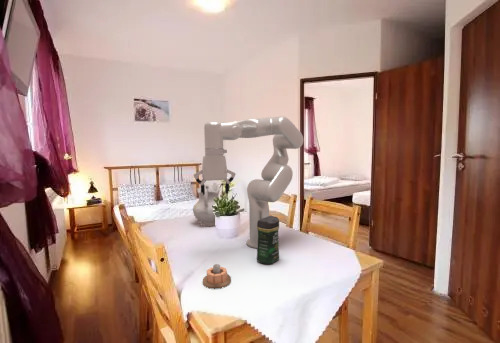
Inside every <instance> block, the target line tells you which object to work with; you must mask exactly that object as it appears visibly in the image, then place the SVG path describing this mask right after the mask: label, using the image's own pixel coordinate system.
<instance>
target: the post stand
mask: <svg viewBox="0 0 500 343" xmlns="http://www.w3.org/2000/svg"><path fill="white" fill-rule="evenodd" d="M220 267H221V264H219V263H218V264H217V263H216V264H213V265H212V268H213V274H220ZM231 283H232V276H230V275H229V274H228V273H227V280H226V281H225V282H223V283H220V284H215V283H214V284H212V283H209V282H207V274H206V275H205V276H204V277H203V279H202V284H203V286H204V287H205V286H206V287H205V288H207V287H208V289H210V288H214V289H213V290H216V289H215V288H220V289H223V288H222V287H224V288H226V287H228V286H230V284H231ZM227 285H228V286H227ZM225 286H226V287H225Z"/></svg>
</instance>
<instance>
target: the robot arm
mask: <svg viewBox="0 0 500 343" xmlns="http://www.w3.org/2000/svg"><path fill="white" fill-rule="evenodd" d="M203 127H204V128H203V130H204V134H203V135H204V155H203V156H202V161H201V162H202V166H201V167H202V168H201V170H199V171H198V172H197V171H196V173H194V174H193V178H194V179H195V181H196V182H197V183H198V184H199V185H200V187H201V193H203V195H205V186H204V184H206V181H224V182H225V186H224V188H225V189H224V191H225V194H226V195H227V194H229V192H230V184H231V183H232V181H234V179H235V176H236V175H237V174H236V173H235V172H233V171H232V170H229V169H228V166H227V165H228V164H227V158H226V156H225V155H224V154H227V153H228V150H227V149H225V148H224V141H235V140H238V139H241V138H242V139H251V138H261V137H265V136H266V137H267V136H273V137H272V146H273V154H272V156H271V157H270V159H269V160H268V161H267V163H266V164H265V165H264V167H263V168H262V170H261V173H260V174H261V179H259V178H256V179H255V178H254V179H252V180H251V181H249V183H248V184H247V187H246V194H247V198H248V208H249V212H248V213H249V220H248V221H249V239H247V241H246V246H248V247H250V248H251V249H252V248H253V249H258V229H257V223H258V220H260V219H263V218H265V217H268V216H270V205H269V203H276V202H278V201H279V200H280V199H281V197H282V195H283V194H284V193H285V191H286V190H287V188H288V187H289V185H290V183H291V182H292V180H293V170H292V167H291V166H290V165H289V164H288V163H289V155H288V150H289V149H290V150H292V149H293V150H296V149H297V150H298V149H299V148H301V147H302V146H303V144H304V136H303V134H302V132H301V131H300V130H299V129H298V128H297V126H296V125H295V124H294V123H293V121H291V119H289V118H287V117H286V116H283V115H282V116H270V117H269V116H268V117H260V118H249V119H243V120H239V121H238V120H237V121H229V122H219V121H210V122H206V123H204V126H203ZM228 174H229V175H231V176H230V177H229V178H228ZM200 175H201V176H202V179H200V178H199V176H200ZM278 240H280V237H279V235H278Z"/></svg>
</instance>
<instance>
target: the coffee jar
mask: <svg viewBox="0 0 500 343" xmlns="http://www.w3.org/2000/svg"><path fill="white" fill-rule="evenodd" d="M257 229H258V248H256V249H257V251H256V260H257V262H259V263H260V264H262V265H271V264H273V263H275V262H277V261H278V260H279V259H280V248H279V239H278V236H279V231H280V219H279V218H278V216H273V215H269V216H268V217H265V218H263V219H260V220H258V223H257Z"/></svg>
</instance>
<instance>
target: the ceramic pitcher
mask: <svg viewBox="0 0 500 343" xmlns="http://www.w3.org/2000/svg"><path fill="white" fill-rule="evenodd" d="M204 186H205V195H203V193H201V186H200V187H198V188H196V192H197V194H198V200H197V202H196V203H195V204H194V205H193V207H192V212H193V216H194V217H195V219H197V221H199V222H200V223H199V225H201V226H204V227H215V226H216V225H215V215H214V213H213V208H212V205H215V203H214V201H213V198H214V197H218V198H219V194H220V191H221V188H220V186H219V184H218V183H217V182H213V183H212V185H210V184H207V183H204Z"/></svg>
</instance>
